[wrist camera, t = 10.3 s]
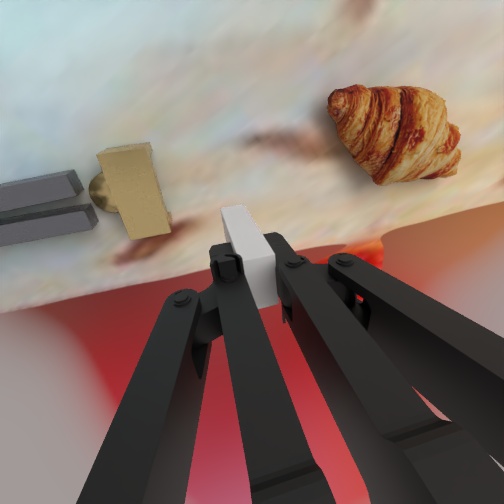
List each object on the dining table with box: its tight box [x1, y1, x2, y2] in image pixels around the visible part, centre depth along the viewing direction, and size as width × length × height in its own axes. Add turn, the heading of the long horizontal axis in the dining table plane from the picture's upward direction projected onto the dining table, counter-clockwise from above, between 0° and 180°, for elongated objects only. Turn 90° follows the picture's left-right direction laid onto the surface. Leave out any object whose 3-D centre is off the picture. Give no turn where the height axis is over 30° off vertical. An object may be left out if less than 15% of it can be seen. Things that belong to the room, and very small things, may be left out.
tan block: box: [96, 142, 172, 240], centre depth 26 cm, size 4×8×4 cm, turn 7°
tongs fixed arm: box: [0, 172, 119, 247], centre depth 25 cm, size 23×5×2 cm, turn 97°
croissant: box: [327, 84, 461, 185], centre depth 29 cm, size 21×10×8 cm, turn 69°
